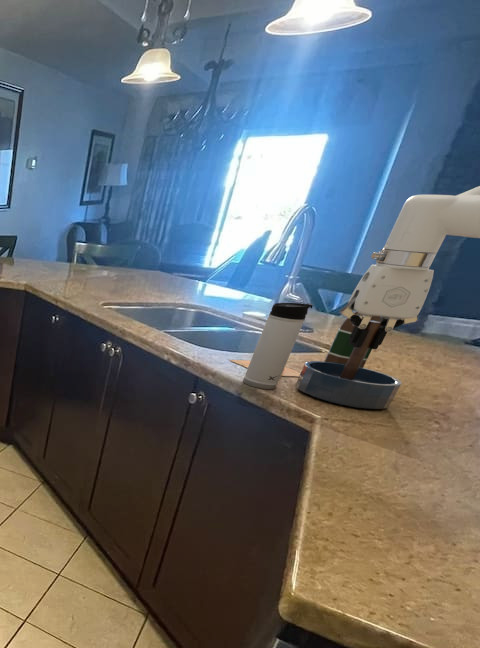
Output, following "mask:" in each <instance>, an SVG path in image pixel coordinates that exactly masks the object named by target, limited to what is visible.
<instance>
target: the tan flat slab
mask: <svg viewBox="0 0 480 648" xmlns="http://www.w3.org/2000/svg"><path fill="white" fill-rule="evenodd" d="M229 361H230V362H232V363H235V364H237V365H239V366H242V367H244V368H246V369H248V366H249V364H250V361H251V360H248V359H246V360H243V359H229ZM300 374H301V372H299V371H297V370H294V369H292V368H289V367H286V366H285V367H284V370H283V372H282V374H281V377H299V376H300Z"/></svg>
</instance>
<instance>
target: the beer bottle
mask: <svg viewBox="0 0 480 648" xmlns="http://www.w3.org/2000/svg"><path fill="white" fill-rule="evenodd" d="M353 313H354V314H356V315H357V314H358V312H357V311H353ZM381 318H382V316H372V317H371V319H370V320H371V321H378V322H380V320H381ZM353 329H354V326H353V325H352V322H351V321H350V319H349V318H347V317H345V318H344V320H343V321H342V323H341V325H340V326H339V328H338V329H337V332H336V334H335V337H334V338H333V341H332V343H331V345H330V348H329V350H328V351H327V354H326V356H325V359H324V362H335V363H341V364H346V363H347V361H348V359H349V357H350V355H351V353H352V351H353V349H354V346H352V345H350V344H349V337H350V335H351V333H352V331H353ZM372 350H373V349H371V348H369V349H368V351H367V353H366V355H365V357H364V359H363V361H362V363H361V365H360V367H363V368H365V365H366V362H367V361H368V359H369V357H370V355H371V352H372Z"/></svg>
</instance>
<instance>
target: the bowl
mask: <svg viewBox="0 0 480 648" xmlns="http://www.w3.org/2000/svg"><path fill="white" fill-rule="evenodd" d="M324 361H325V360H324ZM324 361H322V360H311V361H306V362H305V363H304V365H303V367H302V369H301V372H300V373H301V374H300V376H298V378H297V380H296V383H295V385H294V386H295V387H296V388H297V390H299V391H300V392H303V393H305V394H306V395H308V394H309V396H310V395H311V396H310V397H313V398H315V397H316V398H315V399H318V400H321V399H322V400H321V401H324V400H325V401H324V402H327V401H328V402H327V403H331V404H334V403H335V405H339V406H343V405H345V406H344V407H349V408H355V409H367V410H368V409H369V410H370V409H372V410H383V409H387V408H390V405H391V404H392V402H393V400H394V398H395V396H396V395H397V393H398V391H399V390H400V387H401V385H402V381H401V380H400V379H398V378H397V377H395V376H393V375H389V374H387V373H384V372H381V371H379V370H378V371H377V370H374V369H370V368H366V367H359V369H358V371H357V373H356V375H355V377H354V379H353V380H349V379H345V378H340V376H341V374H342V372H343V370H344V367H345V365H346V364H341V363H335V362H324Z"/></svg>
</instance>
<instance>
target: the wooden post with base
mask: <svg viewBox="0 0 480 648" xmlns="http://www.w3.org/2000/svg"><path fill="white" fill-rule="evenodd" d="M380 325H381V322H378V321H371V320H370V321H369V323H368V325H367V327H366V329H367V330H368V332H367V334H366V336H365V338H364V340H363V342H362V344H361V346H360V347H354V349H353V351H352V353H351V355H350V357H349V359H348V361H347V363H346V365H345V367H344V370H343V372H342V374H341V376H340V378H345V379H349V380H353V379H354V377H355V375H356V373H357V371H358V369H359V367H360V365H361V363H362V361H363V359H364V357H365V355H366V353H367V351H368V349H369V347H370V345H371V343H372V341H373V339H374V337H375V335H376V333H377V331H378V329H379V327H380Z"/></svg>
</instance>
